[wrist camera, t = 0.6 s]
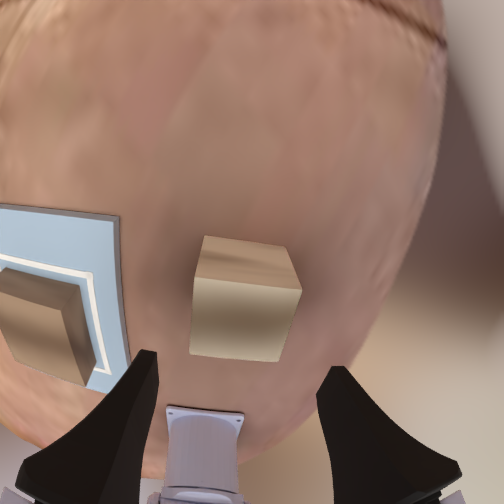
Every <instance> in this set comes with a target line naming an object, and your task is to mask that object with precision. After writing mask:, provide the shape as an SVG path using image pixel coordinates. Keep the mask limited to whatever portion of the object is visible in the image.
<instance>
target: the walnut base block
mask: <svg viewBox="0 0 504 504" xmlns="http://www.w3.org/2000/svg"><path fill="white" fill-rule="evenodd" d="M0 329H1V331H2V334H3V336H4V338H5V341H6V343H7V345H8V347H9V349H10V351H11V353H12V355H13V357H14V359H15V361H17V362H19V363H21V364H24V365H26V366H28V367H31V368H33V369H35V370H38V371H40V372H43V373H45V374H48V375H51V376H53V377H56V378H59V379H62V380H65V381H67V382H70V383H73V384H77V385H80V386H83V387H86V386H87V383H88V381H89V379H90V376H91V374H92V371H93V369H94V367H95V365H96V362H97V361H96V358H95V354H94V350H93V347H92V343H91V339H90V335H89V331H88V326H87V322H86V317H85V312H84V307H83V302H82V297H81V291H80V285H76V284H71V283H67V282H62V281H58V280H54V279H49V278H45V277H41V276H37V275H33V274H29V273H25V272H21V271H18V270H14V269H10V268H7V267H5V268H4V269H3V270H2V271H1V272H0Z"/></svg>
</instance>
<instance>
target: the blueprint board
mask: <svg viewBox="0 0 504 504" xmlns="http://www.w3.org/2000/svg"><path fill="white" fill-rule="evenodd" d="M5 267H7V268H10V269H14V270H18V271H21V272H25V273H29V274H33V275H37V276H41V277H45V278H49V279H54V280H58V281H62V282H67V283H71V284H76V285H80V291H81V297H82V302H83V307H84V312H85V317H86V322H87V326H88V331H89V335H90V339H91V343H92V347H93V350H94V354H95V358H96V361H97V362H96V365H95V367H94V369H93V371H92V374H91V376H90V379H89V381H88V383H87V386H86V387H85V388H88V389H92V390H95V391H99V392H102V393H106V394H108V393H109V392H110V391H111V390H112V388H113V387H114V386H115V385H116V383H117V382H118V381H119V379H120V378H121V377H122V376H123V374H124V373H125V372H126V370H127V369H128V367H129V366H130V365H131V360H130V353H129V347H128V340H127V333H126V325H125V317H124V307H123V297H122V284H121V268H120V241H119V216H110V215H102V214H94V213H85V212H76V211H67V210H58V209H49V208H39V207H30V206H20V205H10V204H0V272H1V271H2V270H3V269H4V268H5ZM25 366H26V365H25ZM30 368H31V367H30ZM32 369H33V368H32ZM37 371H38V370H37ZM42 373H43V372H42ZM47 375H48V374H47ZM50 376H51V375H50ZM55 378H56V377H55ZM58 379H59V378H58ZM61 380H62V379H61ZM64 381H65V380H64ZM76 385H77V384H76ZM79 386H80V385H79ZM82 387H83V386H82Z"/></svg>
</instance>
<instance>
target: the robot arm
mask: <svg viewBox="0 0 504 504" xmlns="http://www.w3.org/2000/svg"><path fill="white" fill-rule="evenodd" d="M158 387H159V375H158V363H157V352H154V351H148V350H143V349H142V350H140V351H139V352H138V354H137V356H136V357H135V359H134V360H133V362H132V363H131V365H130V366H129V367H128V369H127V370H126V372H125V373H124V374H123V376H122V377H121V378H120V379H119V381H118V382H117V383H116V385H115V386H114V387H113V388H112V390H111V391H110V392H109V393H108V394H107V395H106V396H105V398H104V399H103V400H102V401H101V402H100V403H99V404H98V405H97V406H96V407H95V408H94V409H93V410H92V411H91V412H90V413H89V414H88V415H87V416H86V417H85V418H84V419H83V420H82V421H81V422H80V423H78V424H77V425H76V426H75V427H74V428H73V429H71V430H70V431H69V432H68V433H66V434H65V435H64V436H62V437H61V438H59V439H58V440H56V441H55V442H53V443H52V444H51V445H49V446H48V447H46V448H44V449H43V450H41V451H39V452H37V453H35V454H33V455H32V456H30V457H28V458H26V459H24V461H23V463H22V465H21V467H20V470H19V472H18V476H17V479H16V483H15V487H16V488H17V489H19V490H20V491H22V492H24V493H25V494H27V495H29V496H31V497H32V498H34V499H35V502H34V503H32V502H31V501H29V500H27V499H25V498H23V497H21V496H20V495H18V494H16V493H15V492H13V491H11V490H10V489H8V488H7V487H4V489H3V492H2V496H1V500H0V504H139V493H140V479H141V469H142V460H143V453H144V448H145V444H146V440H147V436H148V432H149V428H150V424H151V421H152V417H153V413H154V409H155V405H156V400H157V393H158ZM316 398H317V407H318V414H319V418H320V422H321V425H322V429H323V433H324V437H325V441H326V444H327V448H328V452H329V456H330V461H331V469H332V477H333V489H334V504H465V501H464V498H463V496H462V493H461V491H460V490H458V491H456V492H455V493H453V494H451V495H449V496H448V497H446V498H444V499H442V500H441V501H439V498H438V497H440V496H441V495H442V494H441V491H440V490H442V489H443V488H445V487H447V486H448V485H450V484H451V483H453V482H455V481H456V480H458V479H459V478H460V477H462V472H461V470H460V468H459V465H458V463H457V461H455V460H452V459H450V458H448V457H446V456H443V455H441V454H439V453H437V452H435V451H433V450H431V449H430V448H428V447H426V446H425V445H423V444H422V443H420V442H419V441H417V440H416V439H414V438H413V437H412V436H410V435H409V434H407V433H406V432H405V431H404V430H403V429H402V428H400V427H399V426H398V425H397V424H396V423H395V422H394V421H392V420H391V419H390V418H389V417H388V416H387V415H386V414H385V413H384V412H383V411H382V410H381V409H380V408H379V406H378V405H377V404H376V403H375V402H374V401H373V400H372V399H371V398H370V396H369V395H368V394H367V393H366V392H365V390H364V389H363V388H362V387H361V386H360V384H359V383H358V382H357V381H356V380H355V378H354V377H353V376H352V375H351V373H350V372H349V371H348V370H347V369H346V368H345V366H332V367H331V368H330V370H329V372H328V374H327V376H326V378H325V379H324V381H323V383H322V385H321V386H320V388H319V390H318V391H317V393H316ZM166 416H167V424H168V433H169V445H168V454H167V462H166V472H165V481H164V487H162V492H161V493H158V492H154V493H153V494H152V495H150V496H149V497H148V500H147V504H251V503H250V502H249V501H244V500H243V494H239V492H238V470H237V445H236V440H237V438H238V435H239V432H240V429H241V426H242V423H243V421H244V415H243V414H241V413H227V412H215V411H205V410H196V409H188V408H181V407H174V406H167V407H166Z"/></svg>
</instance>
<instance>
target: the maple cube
mask: <svg viewBox="0 0 504 504" xmlns="http://www.w3.org/2000/svg"><path fill="white" fill-rule="evenodd" d="M301 293H302V287H301V285H300V282H299V280H298V277H297V275H296V272H295V269H294V267H293V264H292V262H291V259H290V257H289V254H288V252H287V250H286V247H284V246H277V245H271V244H264V243H257V242H250V241H242V240H235V239H228V238H221V237H214V236H207V235H204V239H203V244H202V248H201V252H200V256H199V260H198V264H197V268H196V273H195V277H194V289H193V301H192V315H191V330H190V348H189V354H194V355H201V356H210V357H218V358H228V359H239V360H251V361H267V362H278V361H279V358H280V355H281V353H282V350H283V347H284V344H285V341H286V338H287V336H288V333H289V330H290V327H291V324H292V321H293V318H294V315H295V312H296V309H297V306H298V303H299V300H300V297H301Z"/></svg>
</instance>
